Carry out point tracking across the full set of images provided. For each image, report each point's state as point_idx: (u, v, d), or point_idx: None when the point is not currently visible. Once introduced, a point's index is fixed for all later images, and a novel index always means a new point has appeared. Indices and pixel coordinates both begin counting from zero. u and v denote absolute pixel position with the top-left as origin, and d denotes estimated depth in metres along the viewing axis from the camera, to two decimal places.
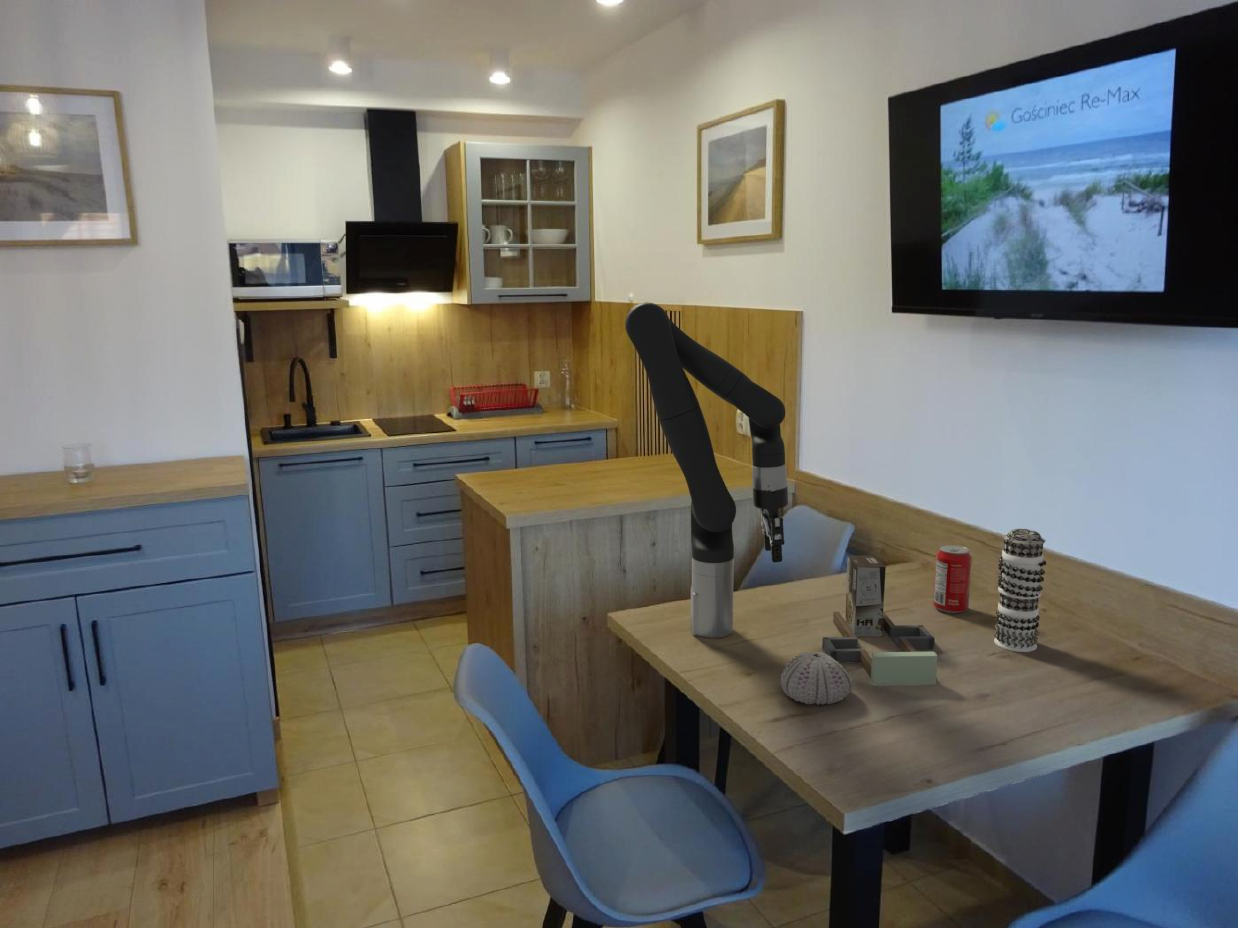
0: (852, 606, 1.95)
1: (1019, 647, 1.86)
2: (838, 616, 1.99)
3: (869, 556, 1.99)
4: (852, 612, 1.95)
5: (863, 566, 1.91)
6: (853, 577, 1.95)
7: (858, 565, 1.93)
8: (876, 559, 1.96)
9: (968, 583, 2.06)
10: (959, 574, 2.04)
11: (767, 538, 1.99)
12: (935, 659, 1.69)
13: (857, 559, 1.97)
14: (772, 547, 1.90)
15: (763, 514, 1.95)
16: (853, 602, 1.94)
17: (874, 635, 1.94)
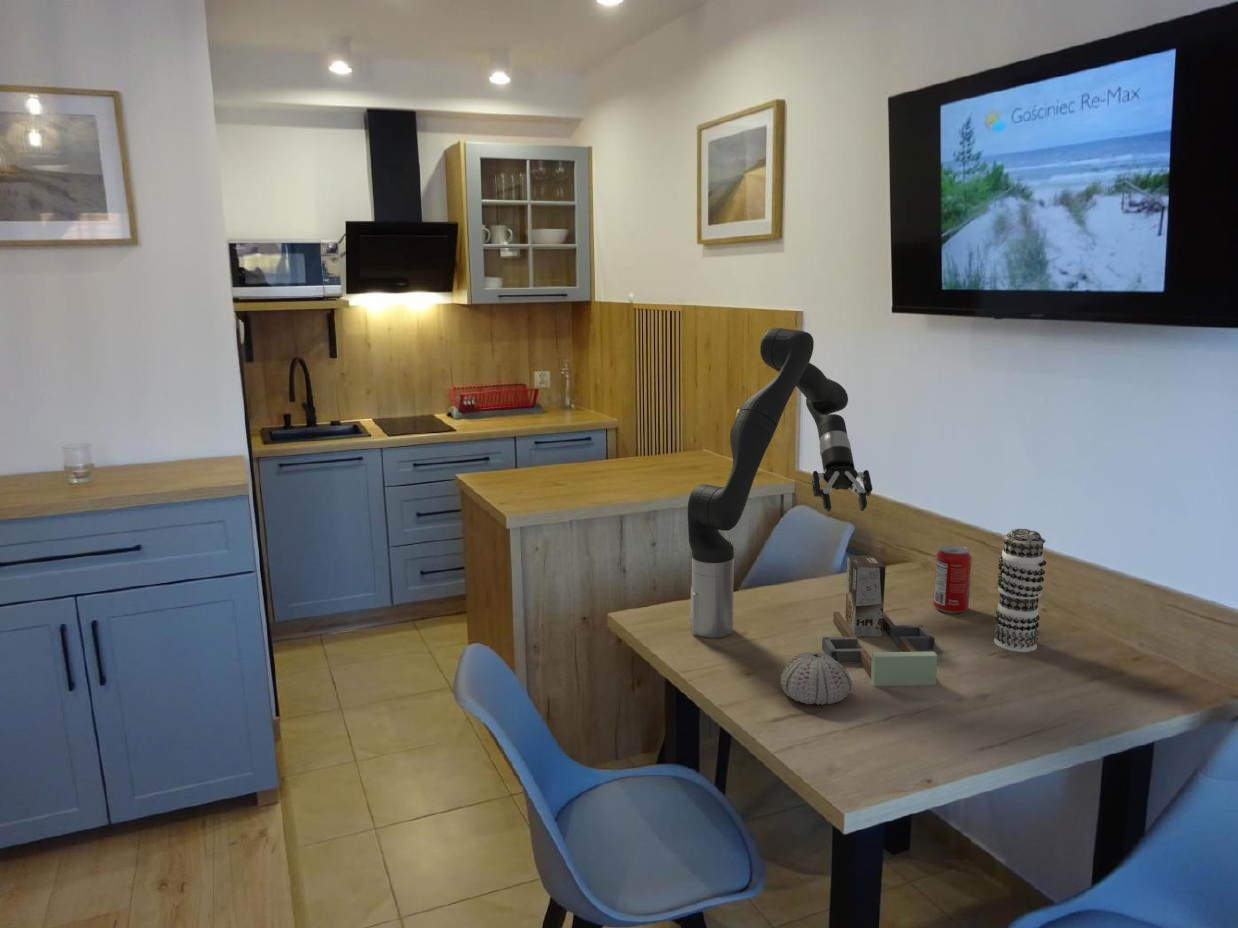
0: (852, 606, 1.95)
1: (1019, 647, 1.86)
2: (838, 616, 1.99)
3: (869, 556, 1.99)
4: (852, 612, 1.95)
5: (863, 566, 1.91)
6: (853, 577, 1.95)
7: (858, 565, 1.93)
8: (876, 559, 1.96)
9: (968, 583, 2.06)
10: (959, 574, 2.04)
11: None
12: (935, 659, 1.69)
13: (857, 559, 1.97)
14: (863, 495, 2.13)
15: None
16: (853, 602, 1.94)
17: (874, 635, 1.94)
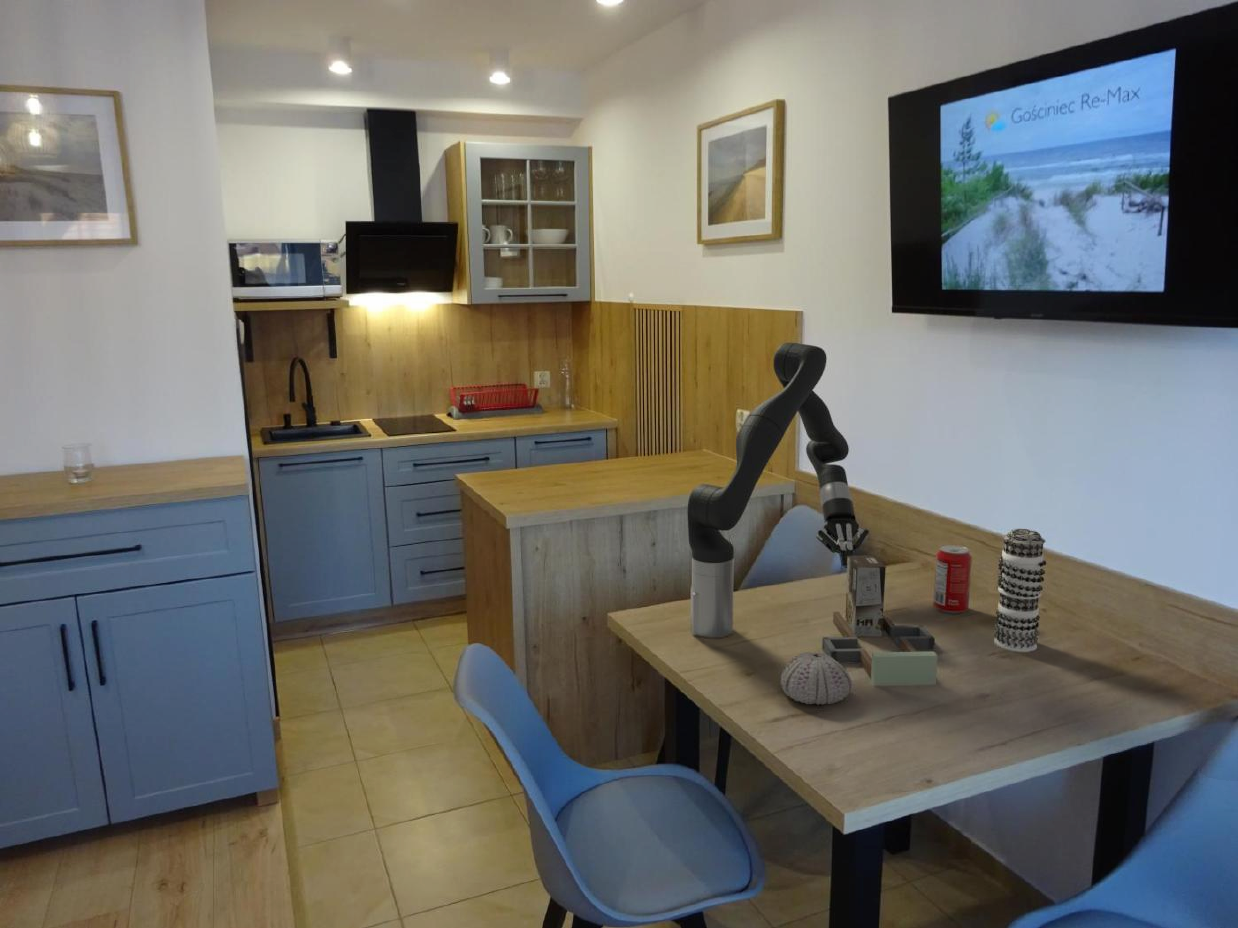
0: (852, 606, 1.95)
1: (1019, 647, 1.86)
2: (838, 616, 1.99)
3: (869, 556, 1.99)
4: (852, 612, 1.95)
5: (863, 566, 1.91)
6: (853, 577, 1.95)
7: (858, 565, 1.93)
8: (876, 559, 1.96)
9: (968, 583, 2.06)
10: (959, 574, 2.04)
11: None
12: (935, 659, 1.69)
13: (857, 559, 1.97)
14: (850, 552, 2.11)
15: None
16: (853, 602, 1.94)
17: (874, 635, 1.94)
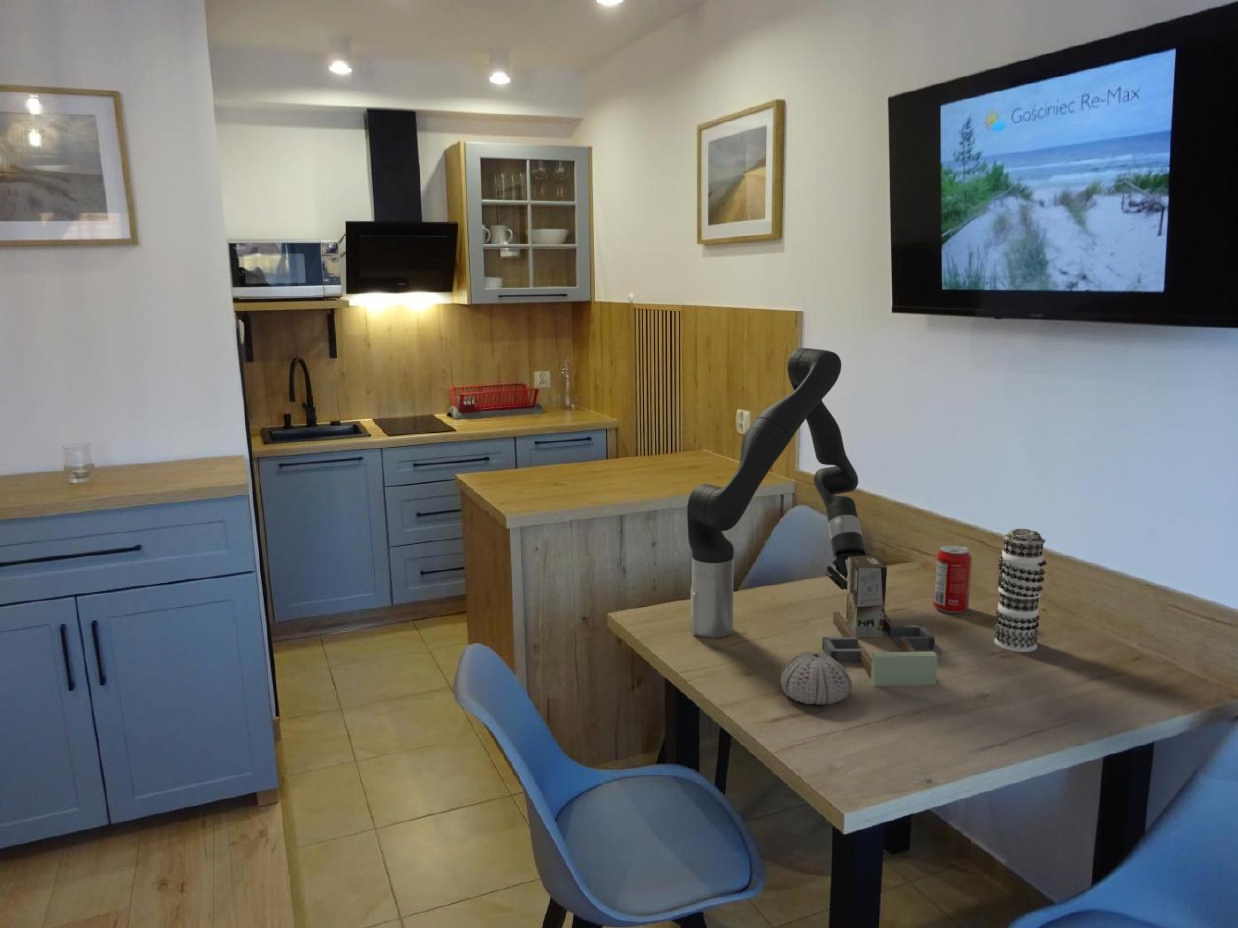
0: (853, 607, 1.95)
1: (1019, 647, 1.86)
2: (838, 616, 1.99)
3: (870, 556, 1.98)
4: (853, 613, 1.95)
5: (864, 567, 1.91)
6: (854, 577, 1.94)
7: (859, 565, 1.92)
8: (877, 560, 1.96)
9: (968, 583, 2.06)
10: (959, 574, 2.04)
11: None
12: (935, 659, 1.69)
13: (858, 559, 1.97)
14: None
15: None
16: (854, 603, 1.94)
17: (875, 636, 1.93)
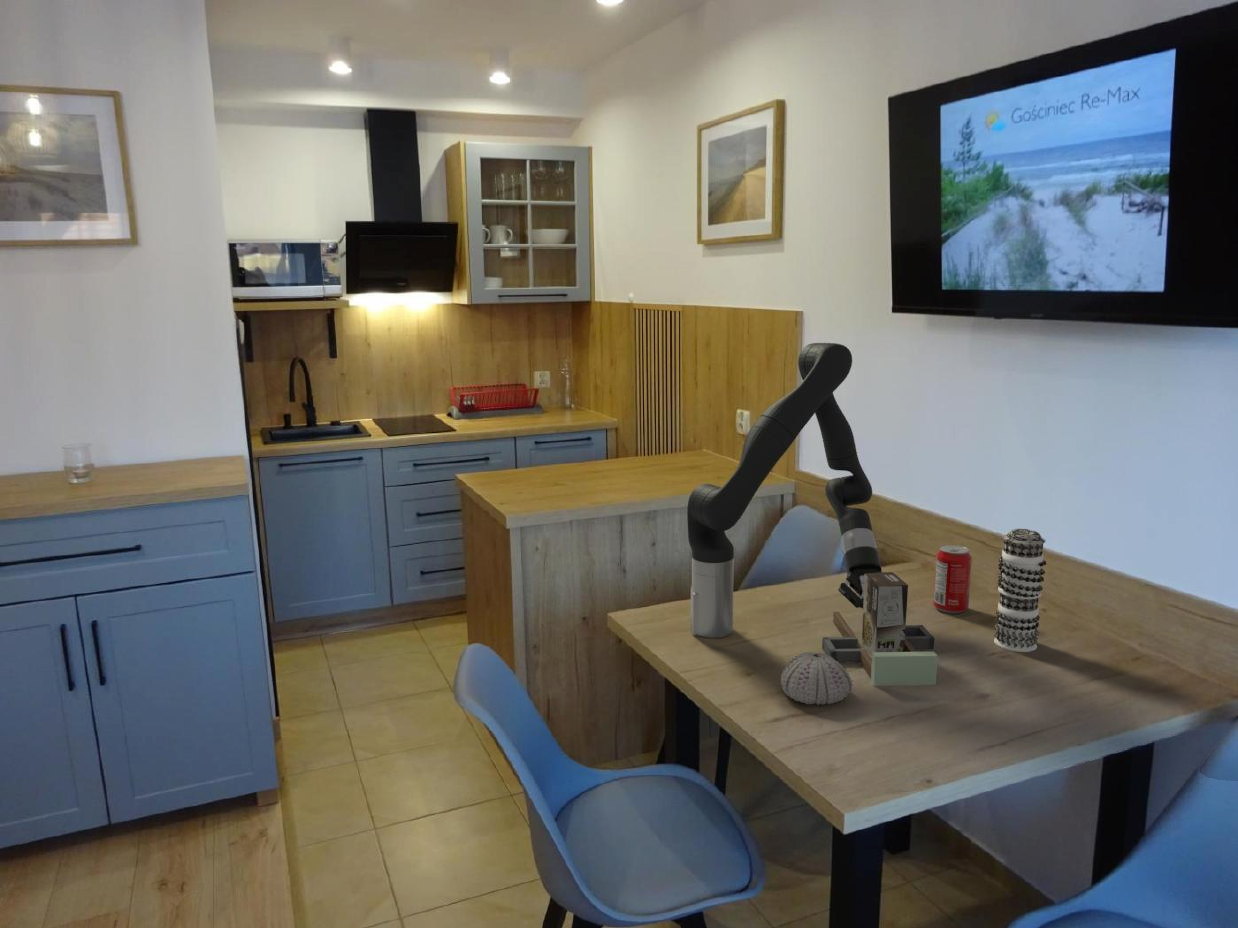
0: (872, 627, 1.83)
1: (1019, 647, 1.86)
2: (838, 616, 1.99)
3: (888, 573, 1.87)
4: (872, 634, 1.83)
5: (884, 585, 1.79)
6: (872, 596, 1.82)
7: (879, 583, 1.80)
8: (896, 576, 1.84)
9: (968, 583, 2.06)
10: (959, 574, 2.04)
11: None
12: (935, 659, 1.69)
13: (875, 576, 1.85)
14: None
15: None
16: (873, 623, 1.82)
17: None
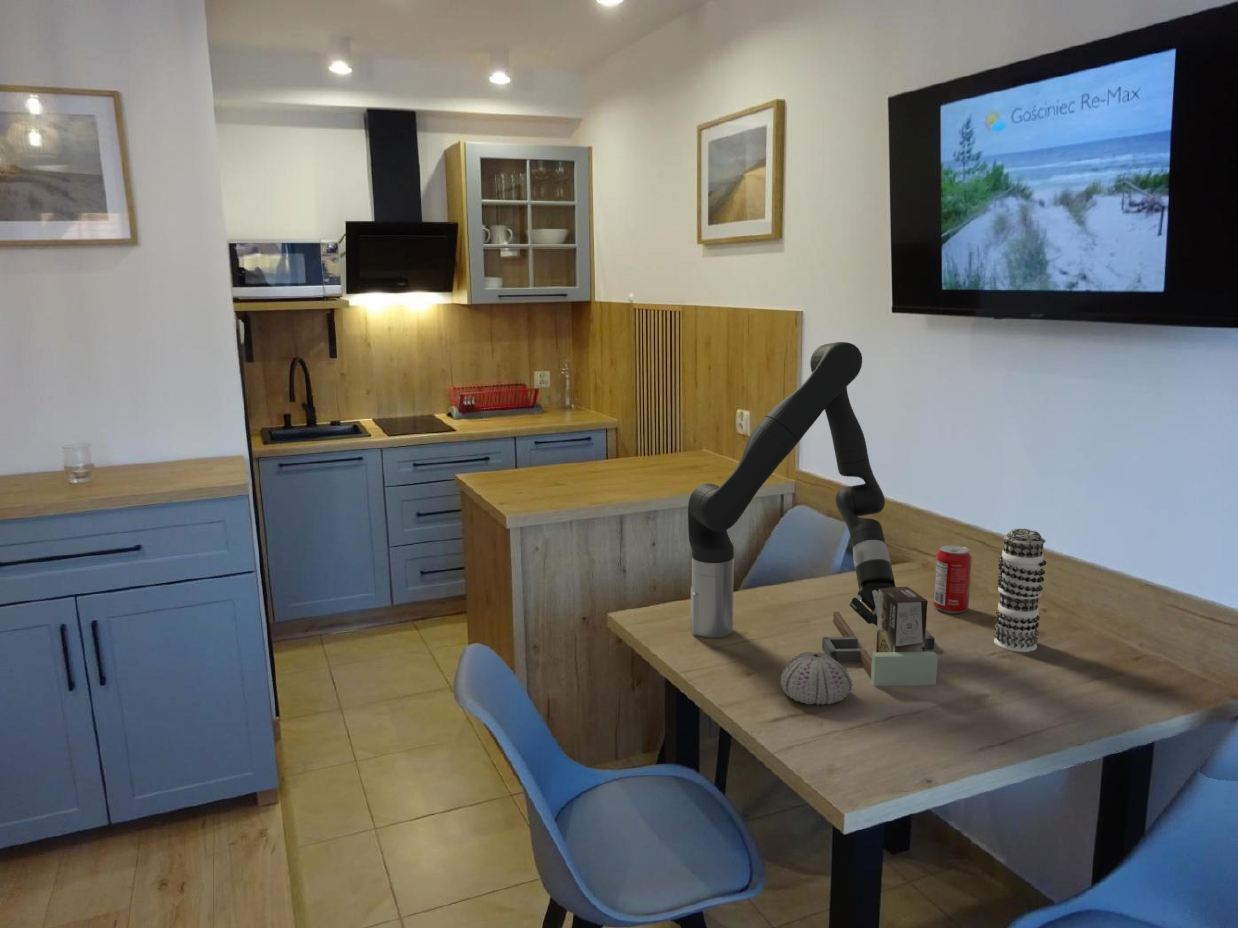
0: (889, 646, 1.74)
1: (1019, 647, 1.86)
2: (838, 616, 1.99)
3: (903, 587, 1.78)
4: None
5: (903, 602, 1.70)
6: (889, 613, 1.73)
7: (897, 600, 1.71)
8: (912, 591, 1.75)
9: (968, 583, 2.06)
10: (959, 574, 2.04)
11: None
12: (935, 659, 1.69)
13: (891, 592, 1.76)
14: None
15: None
16: (891, 641, 1.73)
17: None
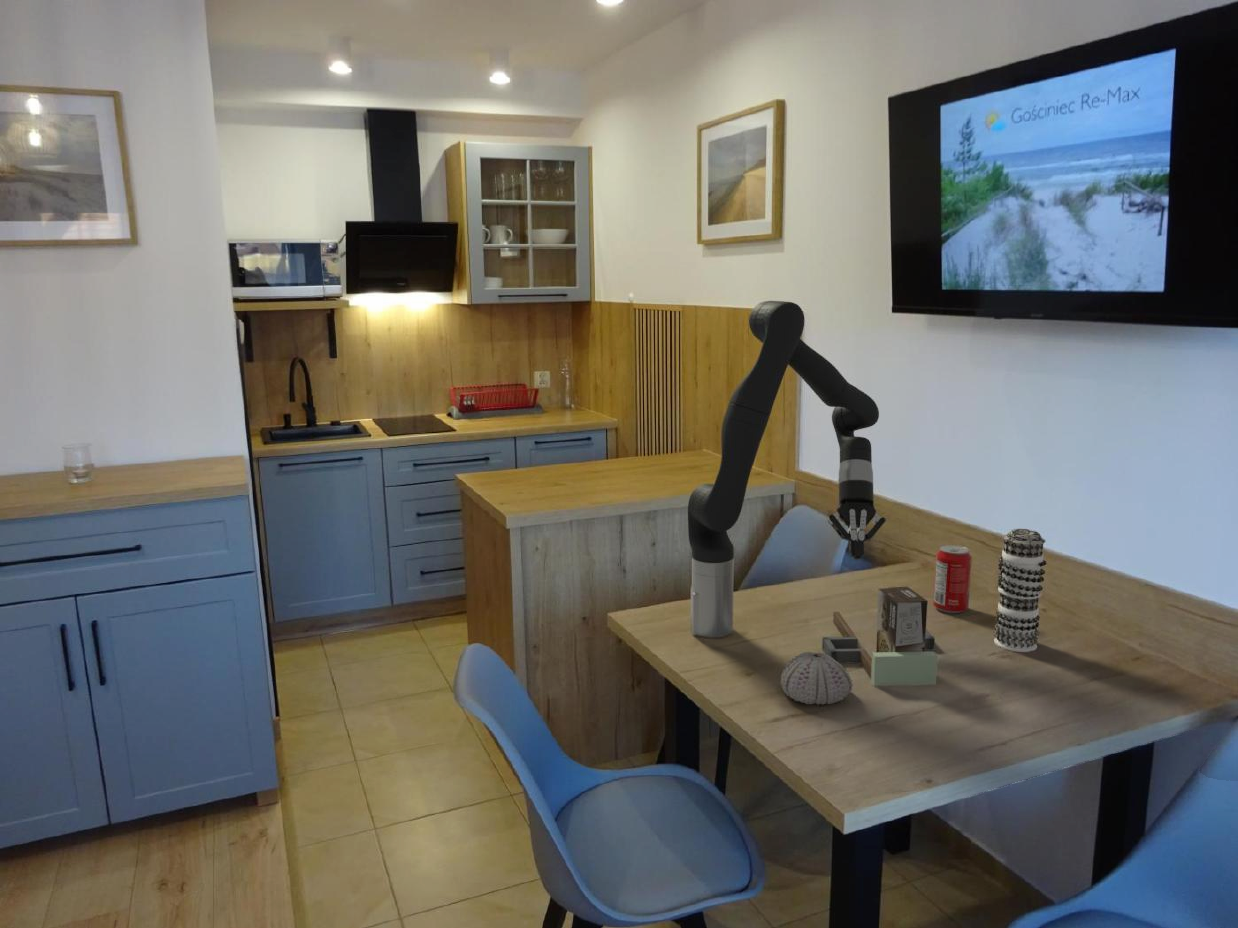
0: (889, 646, 1.74)
1: (1019, 647, 1.86)
2: (838, 616, 1.99)
3: (903, 588, 1.78)
4: None
5: (903, 602, 1.70)
6: (889, 613, 1.73)
7: (897, 600, 1.71)
8: (912, 592, 1.75)
9: (968, 583, 2.06)
10: (959, 574, 2.04)
11: None
12: (935, 659, 1.69)
13: (891, 592, 1.76)
14: (860, 542, 1.94)
15: None
16: (891, 642, 1.73)
17: None
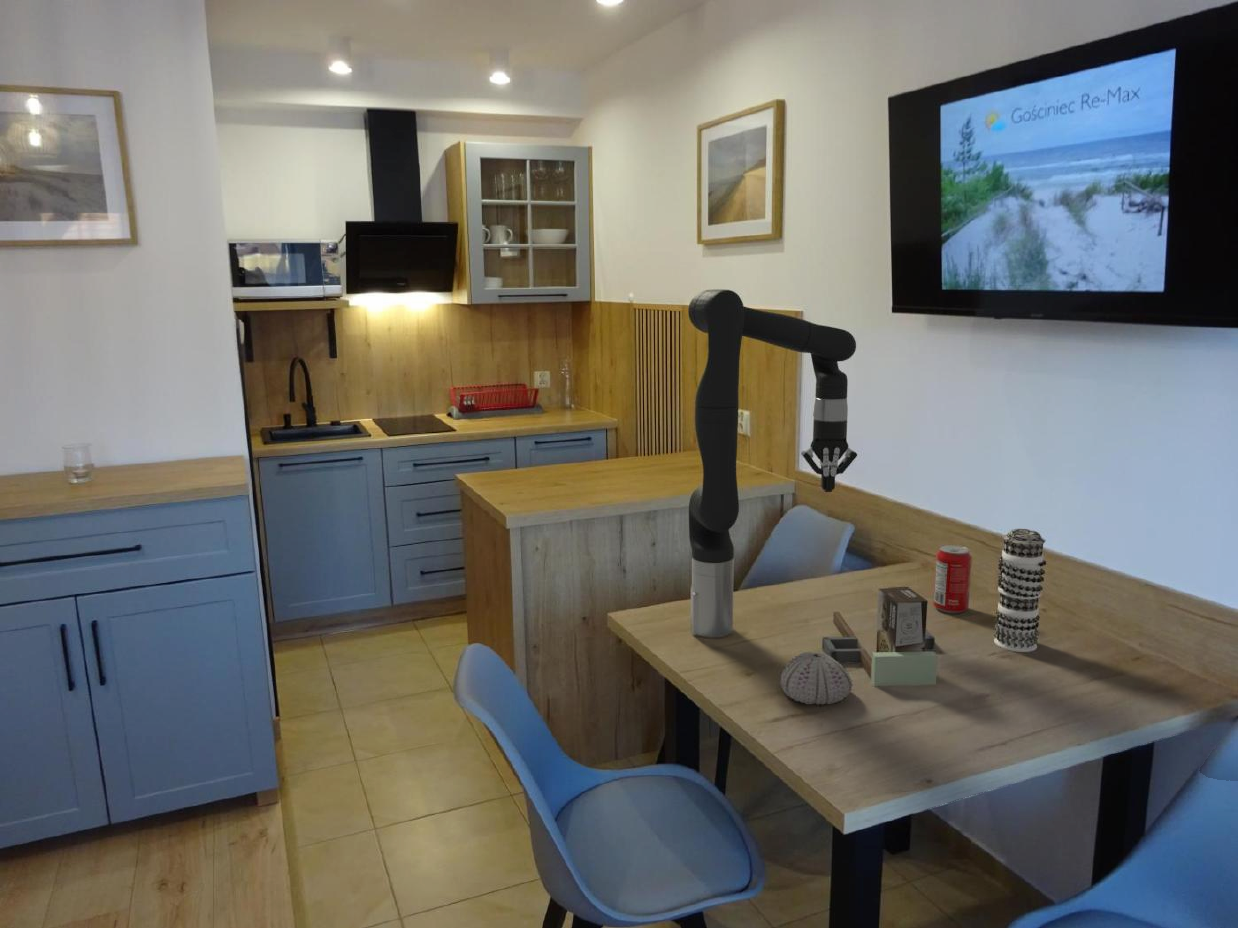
0: (889, 646, 1.74)
1: (1019, 647, 1.86)
2: (838, 616, 1.99)
3: (903, 588, 1.78)
4: None
5: (903, 602, 1.70)
6: (889, 613, 1.73)
7: (897, 600, 1.71)
8: (912, 592, 1.75)
9: (968, 583, 2.06)
10: (959, 574, 2.04)
11: None
12: (935, 659, 1.69)
13: (891, 592, 1.76)
14: (832, 477, 2.03)
15: (825, 447, 2.01)
16: (891, 642, 1.73)
17: None
